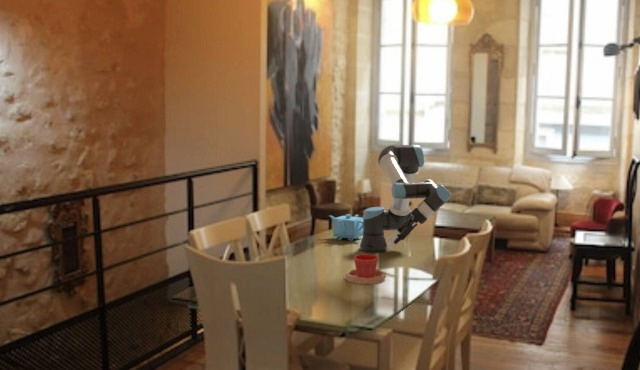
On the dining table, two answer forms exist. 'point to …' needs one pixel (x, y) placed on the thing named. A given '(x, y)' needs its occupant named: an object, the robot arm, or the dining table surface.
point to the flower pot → (366, 265)
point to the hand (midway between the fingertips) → (388, 244)
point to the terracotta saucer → (353, 278)
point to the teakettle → (347, 227)
